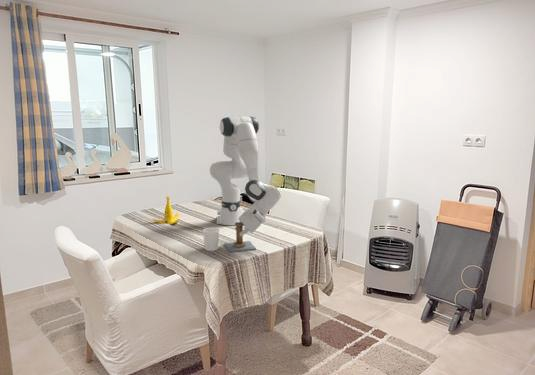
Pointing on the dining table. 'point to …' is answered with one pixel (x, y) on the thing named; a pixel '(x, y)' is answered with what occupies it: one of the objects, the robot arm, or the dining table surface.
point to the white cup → (211, 238)
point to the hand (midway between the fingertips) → (238, 232)
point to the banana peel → (168, 214)
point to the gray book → (231, 248)
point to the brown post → (239, 238)
